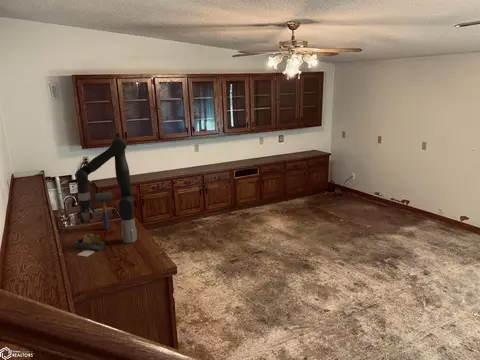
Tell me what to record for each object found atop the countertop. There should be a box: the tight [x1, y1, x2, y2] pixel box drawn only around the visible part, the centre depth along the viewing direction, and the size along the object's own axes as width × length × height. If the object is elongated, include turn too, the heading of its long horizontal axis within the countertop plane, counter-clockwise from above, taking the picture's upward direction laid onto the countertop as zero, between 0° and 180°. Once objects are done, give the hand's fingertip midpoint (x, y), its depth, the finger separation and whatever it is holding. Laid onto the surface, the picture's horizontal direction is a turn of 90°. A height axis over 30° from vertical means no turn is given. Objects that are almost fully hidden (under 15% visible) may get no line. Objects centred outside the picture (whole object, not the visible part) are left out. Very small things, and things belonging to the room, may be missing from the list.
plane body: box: [73, 234, 106, 252], centre depth 256 cm, size 20×7×10 cm, turn 73°
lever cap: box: [82, 233, 96, 244], centre depth 256 cm, size 6×4×6 cm
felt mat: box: [77, 249, 96, 258], centre depth 248 cm, size 8×8×1 cm
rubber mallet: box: [94, 191, 113, 230], centre depth 286 cm, size 12×8×30 cm, turn 117°
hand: (87, 221), depth 253 cm, fingers open, 8 cm apart
